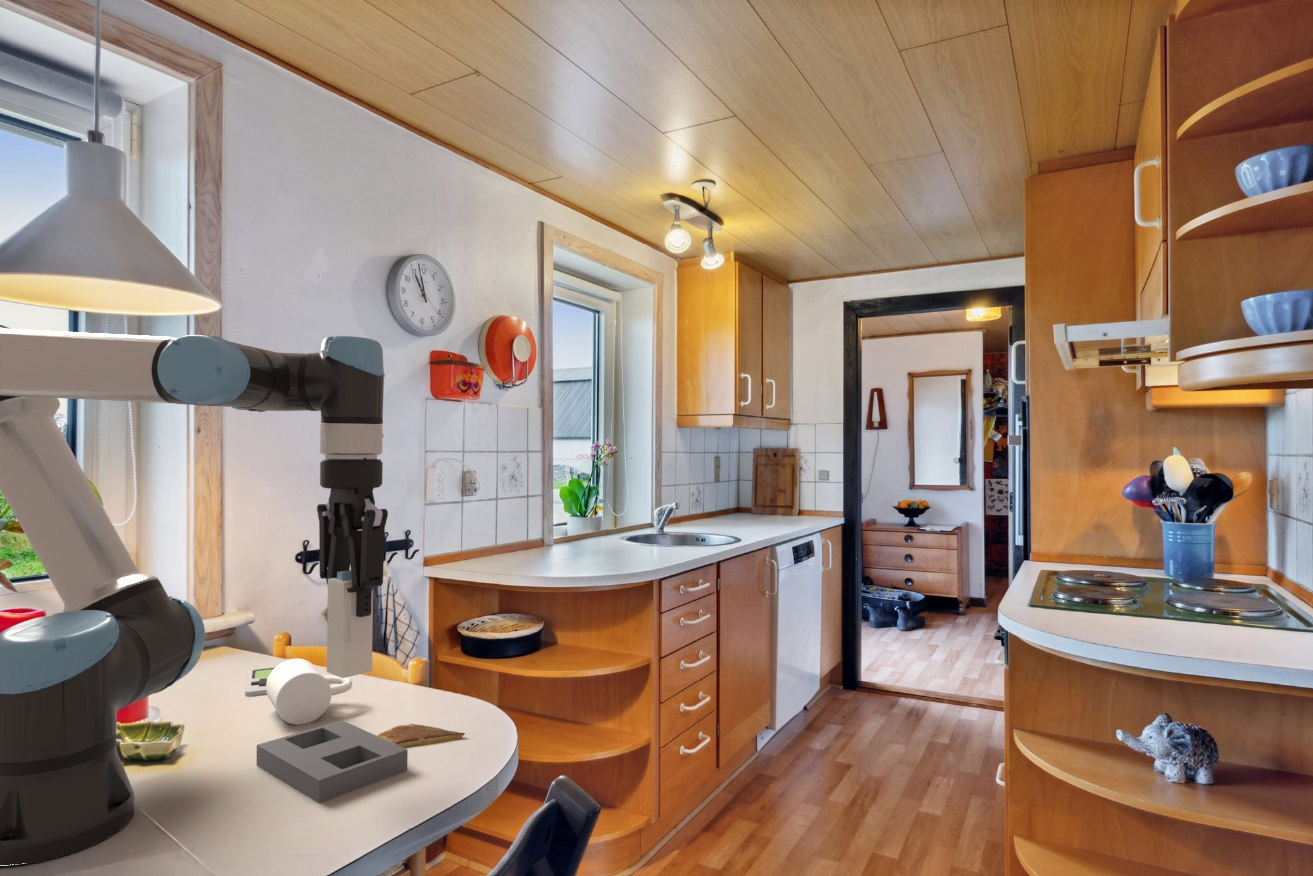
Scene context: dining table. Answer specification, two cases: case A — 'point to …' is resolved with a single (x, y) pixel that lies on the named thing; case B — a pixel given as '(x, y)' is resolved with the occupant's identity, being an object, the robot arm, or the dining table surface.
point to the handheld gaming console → (257, 681)
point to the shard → (418, 735)
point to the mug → (302, 691)
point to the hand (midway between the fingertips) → (349, 637)
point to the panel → (331, 760)
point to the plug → (344, 632)
